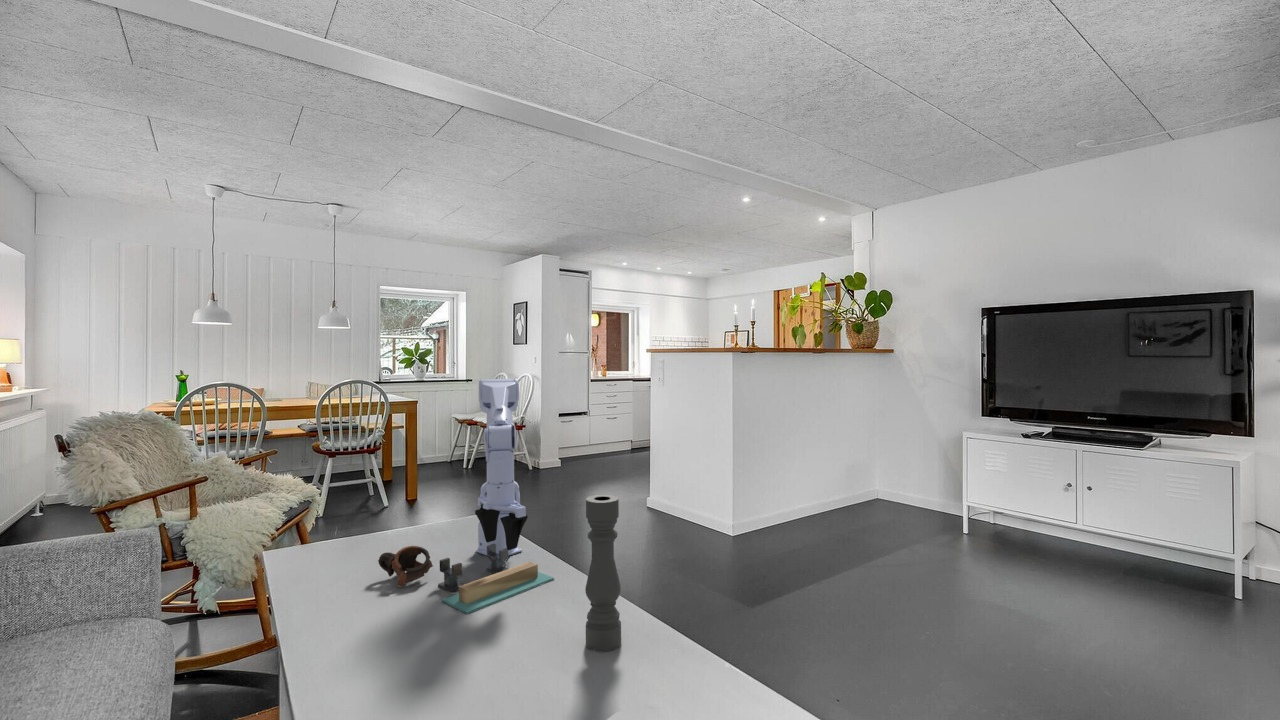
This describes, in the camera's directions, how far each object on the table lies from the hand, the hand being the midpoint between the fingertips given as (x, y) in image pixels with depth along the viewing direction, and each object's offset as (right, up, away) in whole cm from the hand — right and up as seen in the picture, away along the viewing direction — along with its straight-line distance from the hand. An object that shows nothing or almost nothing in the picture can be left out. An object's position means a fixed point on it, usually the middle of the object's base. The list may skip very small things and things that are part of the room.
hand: (501, 544), depth 122 cm
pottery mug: (-23, -10, +6) cm, 26 cm away
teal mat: (0, -9, -1) cm, 9 cm away
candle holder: (+23, -10, -23) cm, 34 cm away
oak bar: (0, -9, -1) cm, 9 cm away
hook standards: (-7, -9, +6) cm, 13 cm away
